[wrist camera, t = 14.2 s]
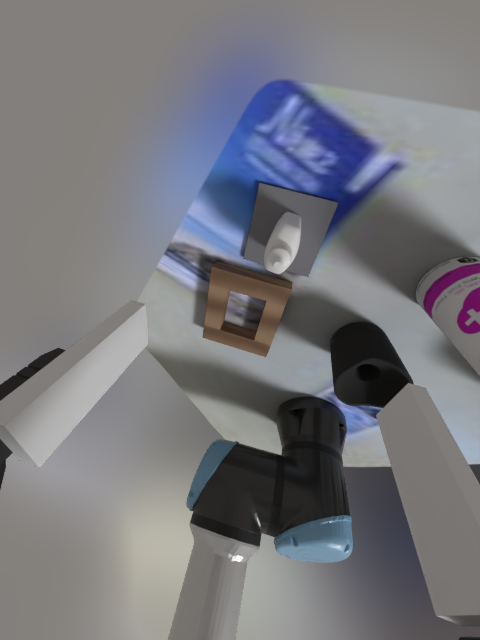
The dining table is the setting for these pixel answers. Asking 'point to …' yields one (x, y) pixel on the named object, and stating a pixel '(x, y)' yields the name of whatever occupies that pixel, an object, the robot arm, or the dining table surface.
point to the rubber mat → (271, 209)
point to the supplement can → (455, 304)
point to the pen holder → (366, 366)
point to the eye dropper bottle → (283, 243)
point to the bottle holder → (251, 285)
